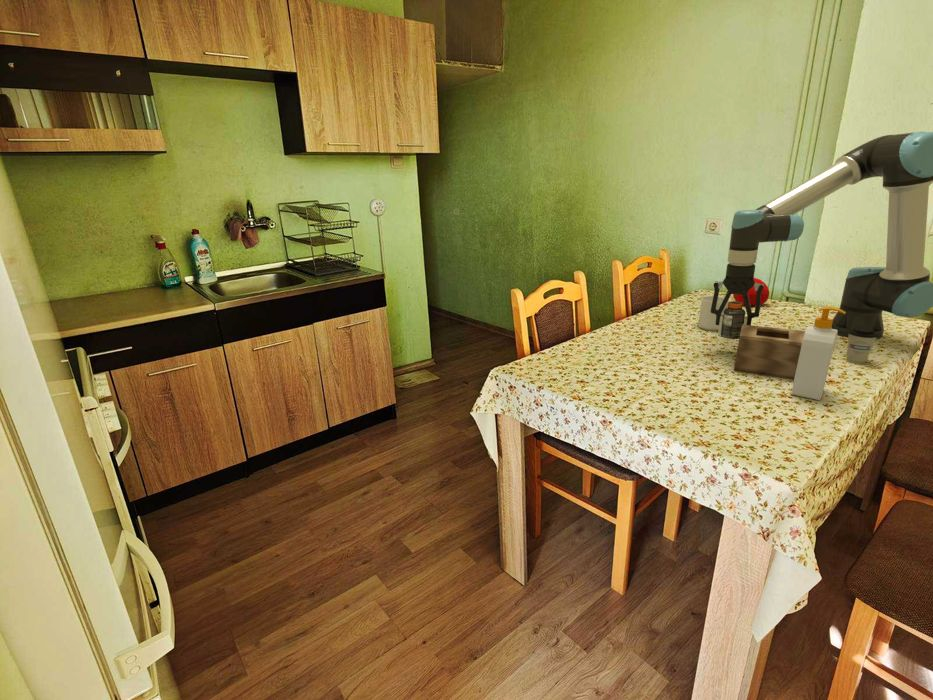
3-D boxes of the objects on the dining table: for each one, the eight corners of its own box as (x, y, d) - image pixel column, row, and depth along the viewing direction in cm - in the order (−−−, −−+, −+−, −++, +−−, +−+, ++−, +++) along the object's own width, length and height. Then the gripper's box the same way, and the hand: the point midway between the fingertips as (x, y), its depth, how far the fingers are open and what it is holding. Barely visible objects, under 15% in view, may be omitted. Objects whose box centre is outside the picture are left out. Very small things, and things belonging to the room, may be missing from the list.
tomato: (762, 310, 210) (729, 310, 213) (760, 283, 213) (727, 283, 216) (774, 300, 198) (739, 300, 201) (772, 271, 201) (737, 272, 204)
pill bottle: (741, 334, 155) (746, 300, 151) (742, 340, 150) (747, 305, 146) (720, 333, 157) (724, 299, 153) (720, 339, 152) (725, 304, 148)
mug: (720, 332, 174) (725, 303, 170) (694, 328, 180) (698, 299, 176) (729, 324, 183) (734, 296, 179) (704, 321, 188) (708, 293, 184)
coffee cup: (843, 355, 150) (851, 324, 147) (872, 360, 146) (880, 328, 142) (839, 361, 146) (846, 329, 142) (868, 367, 141) (877, 334, 138)
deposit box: (797, 365, 143) (805, 331, 140) (798, 380, 134) (807, 343, 130) (736, 357, 151) (742, 324, 148) (733, 370, 142) (739, 335, 138)
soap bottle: (823, 402, 121) (844, 314, 113) (790, 395, 125) (809, 309, 118) (827, 390, 128) (847, 305, 120) (795, 383, 132) (813, 302, 124)
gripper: (778, 262, 144) (766, 336, 152) (708, 260, 153) (700, 329, 161) (778, 267, 138) (765, 343, 146) (705, 264, 147) (697, 336, 155)
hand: (731, 335), depth 153 cm, fingers closed on pill bottle, 6 cm apart
